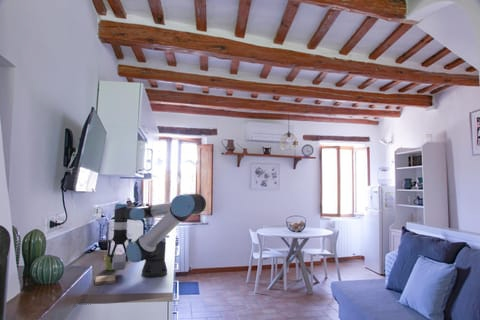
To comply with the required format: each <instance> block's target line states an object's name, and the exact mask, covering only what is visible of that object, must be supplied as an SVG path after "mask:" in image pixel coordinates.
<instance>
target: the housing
mask: <svg viewBox="0 0 480 320" xmlns="http://www.w3.org/2000/svg"><path fill="white" fill-rule="evenodd" d="M125 256H126V255H125V251H118V252H117V251H116V252H114V269H113V270H112V271H123V270H125V269H126V268H125Z"/></svg>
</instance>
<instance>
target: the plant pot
mask: <svg viewBox="0 0 480 320" xmlns="http://www.w3.org/2000/svg"><path fill="white" fill-rule="evenodd" d="M110 255H111V253H110ZM113 257H114V255H113ZM104 258H105V264H106V270H107V271H114V270H113V269H112V263H110V257H108V256H107V254H104Z"/></svg>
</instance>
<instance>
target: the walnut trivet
mask: <svg viewBox="0 0 480 320" xmlns="http://www.w3.org/2000/svg"><path fill="white" fill-rule="evenodd" d="M116 283H117V276H116V275H115V274H109V275H99V276H97V275H96V276H94V286H97V285H98V286H99V285H106V284H107V285H108V284H116Z"/></svg>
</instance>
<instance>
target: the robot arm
mask: <svg viewBox="0 0 480 320" xmlns="http://www.w3.org/2000/svg"><path fill="white" fill-rule="evenodd" d="M206 207H207V201H206V199H205V197H204V196H203V195H202V194H199V193H181V194H178V195H176V196H175V197H173V199H172V200H171V201H170V202H163V203H159V204H153V205H147V206H129V204H128V203H127V202H126V203H125V202H119V203H115V205H114V211H113V212H114V216H113V217H114V219H113V237H112V238H109V239H107V242H108V244H107V245H108V246H107V254H106V255H107V256H108V257H110V263H112V269H114V257H113V255H114V252H115V251H116V249H117V246H120V245H121V246H122V247H123V250H124V251H123V252H124V253H125V268H124V269H126V266H127V265H126V264H127V263H128V262H131V263H133V264H134V263H140V262H143V261H144V264H143V267H142V269H141V276H143V277H148V278H160V277H164V276H166V275H167V274H168V268H167V263H166V261H165V259H166V244H167V242H166V241H167V240H166V236H168V234H170V232H172V230H173V229H175V228H176V227H177V225H179V224H180V223H185V222H186V221H187V220H188V219H189V218H190V217H191V216H194V215H199V214H201V213H203V212H204V211H205V209H206ZM158 217H162V218H161V219H159V221H158V222H157V223H155V225H154V226H152V227H151V229H149V231H148V232H147V233H145V234H141V235H140V236H138V238H137V239H135V240H134V241H133V238H131V237H130V238H129V237H128V235H127V234H128V232H127V231H128V230H127V228H128V220H130V221H135V222H137V221H141V220H143V219H144V220H145V219H152V218H153V219H154V218H158ZM126 241H127V242H128V244H127V245H126V244H125V243H126ZM112 242H113V243H114V245H113V248H112V251H111V246H112V245H111V244H112ZM110 254H111V255H110Z"/></svg>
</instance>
